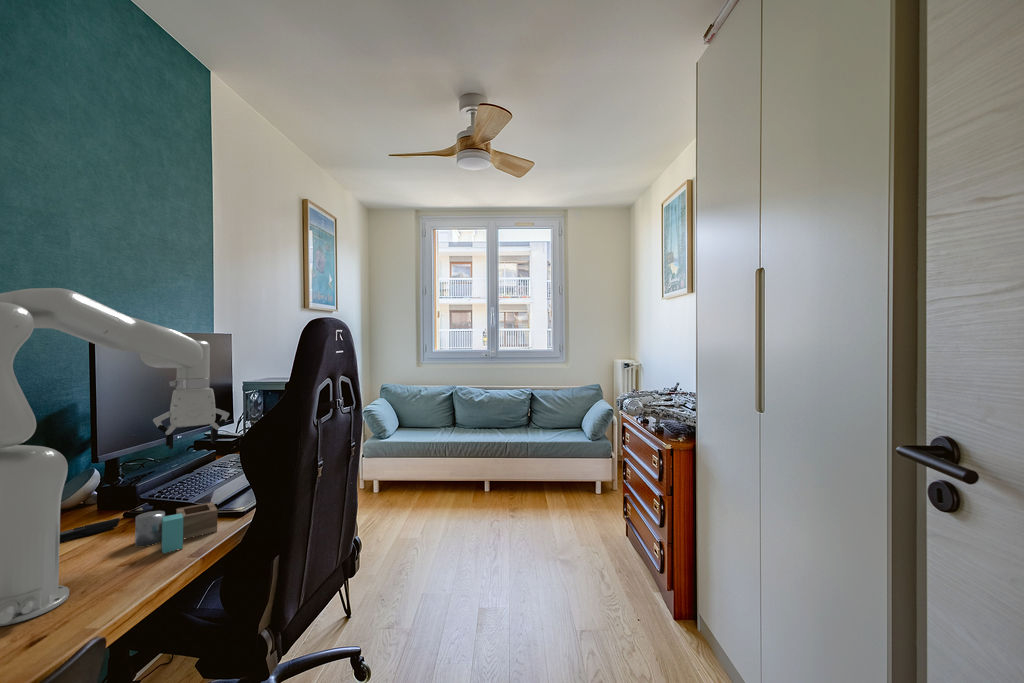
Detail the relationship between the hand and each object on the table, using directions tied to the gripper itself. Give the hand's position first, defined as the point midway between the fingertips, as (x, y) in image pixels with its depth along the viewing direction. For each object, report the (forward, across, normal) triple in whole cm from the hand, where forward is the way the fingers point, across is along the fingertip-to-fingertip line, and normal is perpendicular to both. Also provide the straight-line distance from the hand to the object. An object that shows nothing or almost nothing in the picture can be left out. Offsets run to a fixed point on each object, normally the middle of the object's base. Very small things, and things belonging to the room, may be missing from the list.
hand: (192, 445), depth 123 cm
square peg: (+24, -5, -10) cm, 26 cm away
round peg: (+24, -9, -1) cm, 25 cm away
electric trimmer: (+24, -23, +16) cm, 37 cm away
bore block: (+24, +1, -1) cm, 24 cm away
